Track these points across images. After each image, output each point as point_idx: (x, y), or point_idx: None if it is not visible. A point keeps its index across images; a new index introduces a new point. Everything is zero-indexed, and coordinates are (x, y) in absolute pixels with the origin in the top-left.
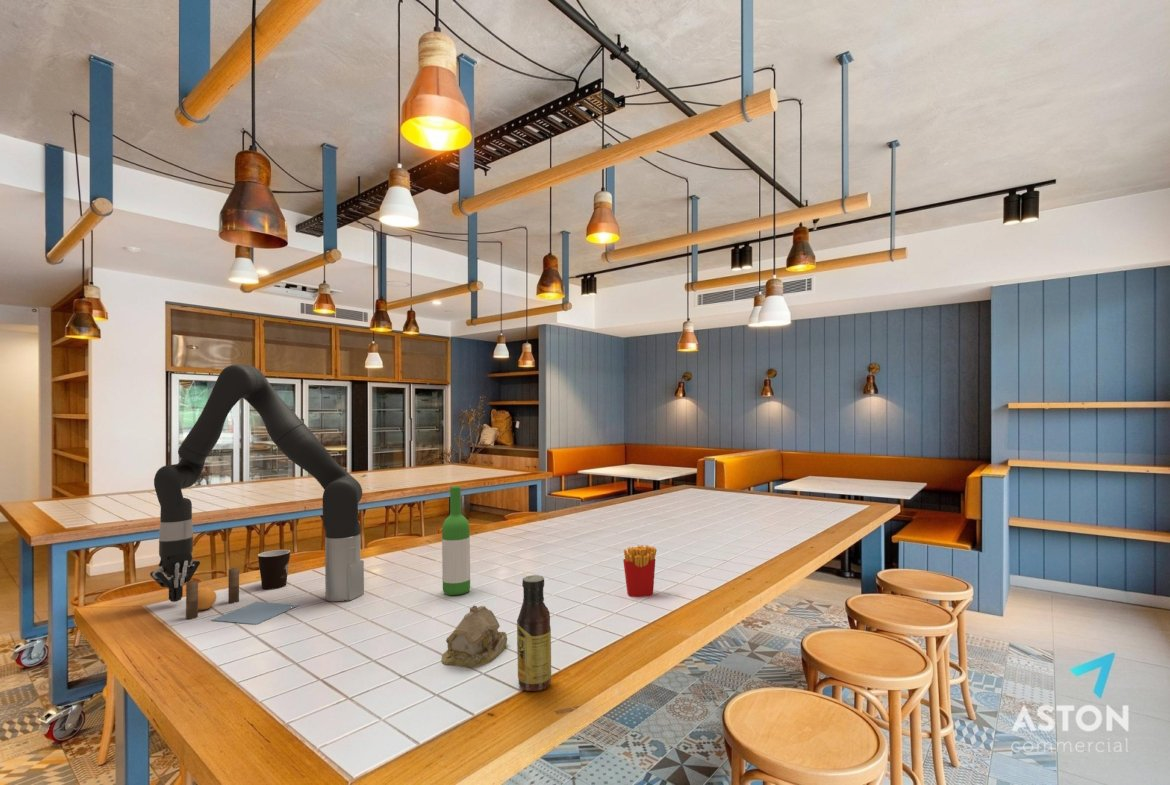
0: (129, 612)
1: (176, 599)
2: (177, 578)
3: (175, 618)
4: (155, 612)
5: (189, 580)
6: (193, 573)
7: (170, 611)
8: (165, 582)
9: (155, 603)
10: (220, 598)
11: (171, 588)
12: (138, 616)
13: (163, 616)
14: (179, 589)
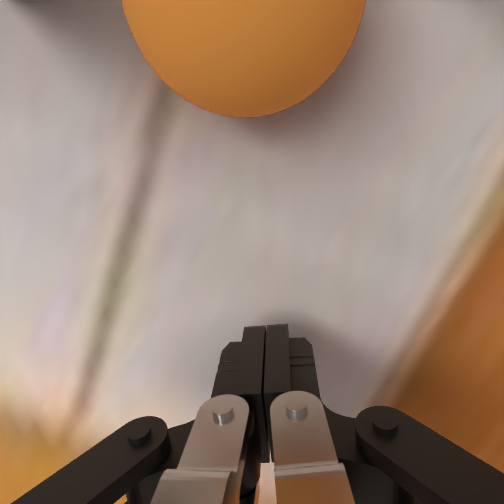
0: None
1: (286, 328)
2: (302, 467)
3: (496, 31)
4: (403, 335)
5: (128, 426)
6: (39, 491)
7: (363, 254)
8: (474, 469)
9: (269, 488)
10: (22, 175)
11: (326, 418)
12: (492, 363)
13: (467, 192)
14: (256, 377)
